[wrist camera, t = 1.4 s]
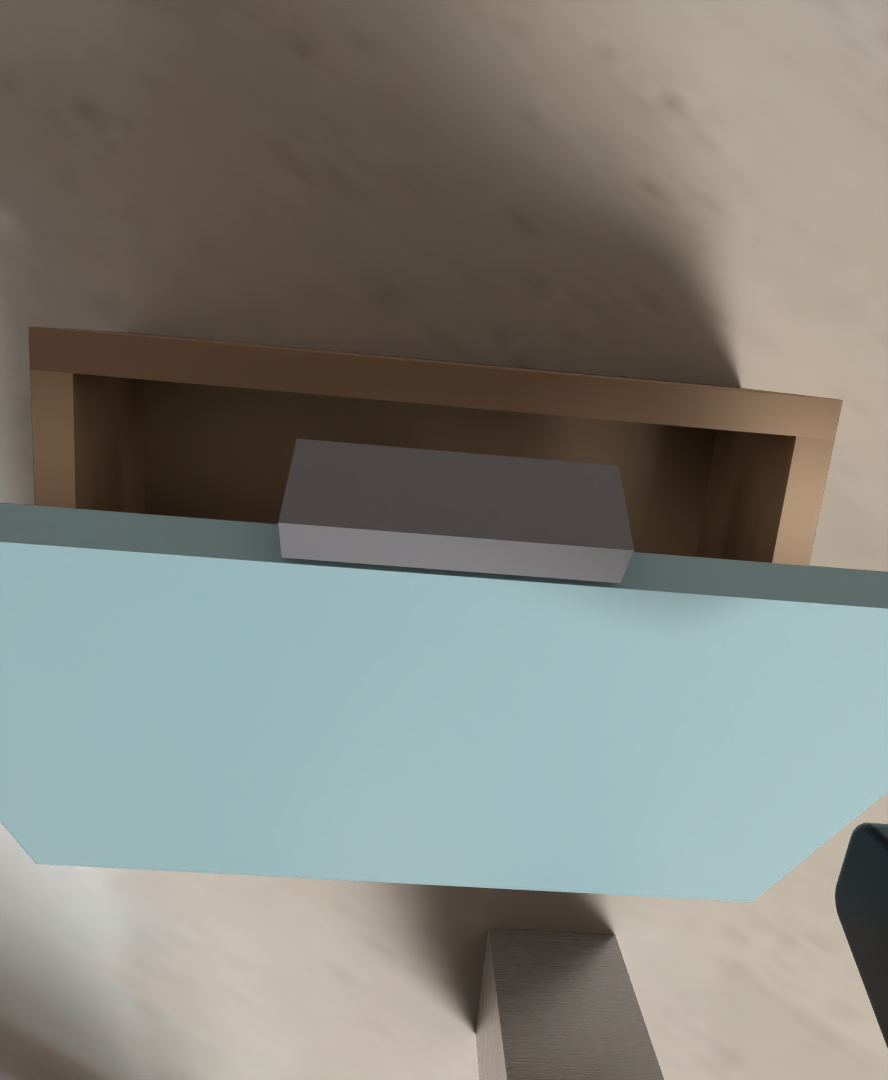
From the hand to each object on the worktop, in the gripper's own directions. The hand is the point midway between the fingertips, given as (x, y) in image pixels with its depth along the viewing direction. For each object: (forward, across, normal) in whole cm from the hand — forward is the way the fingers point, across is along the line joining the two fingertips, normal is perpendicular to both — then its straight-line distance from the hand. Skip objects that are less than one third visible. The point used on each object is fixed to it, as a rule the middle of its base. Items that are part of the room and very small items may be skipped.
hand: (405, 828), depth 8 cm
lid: (+6, 0, +2) cm, 6 cm away
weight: (+13, -5, +16) cm, 21 cm away
